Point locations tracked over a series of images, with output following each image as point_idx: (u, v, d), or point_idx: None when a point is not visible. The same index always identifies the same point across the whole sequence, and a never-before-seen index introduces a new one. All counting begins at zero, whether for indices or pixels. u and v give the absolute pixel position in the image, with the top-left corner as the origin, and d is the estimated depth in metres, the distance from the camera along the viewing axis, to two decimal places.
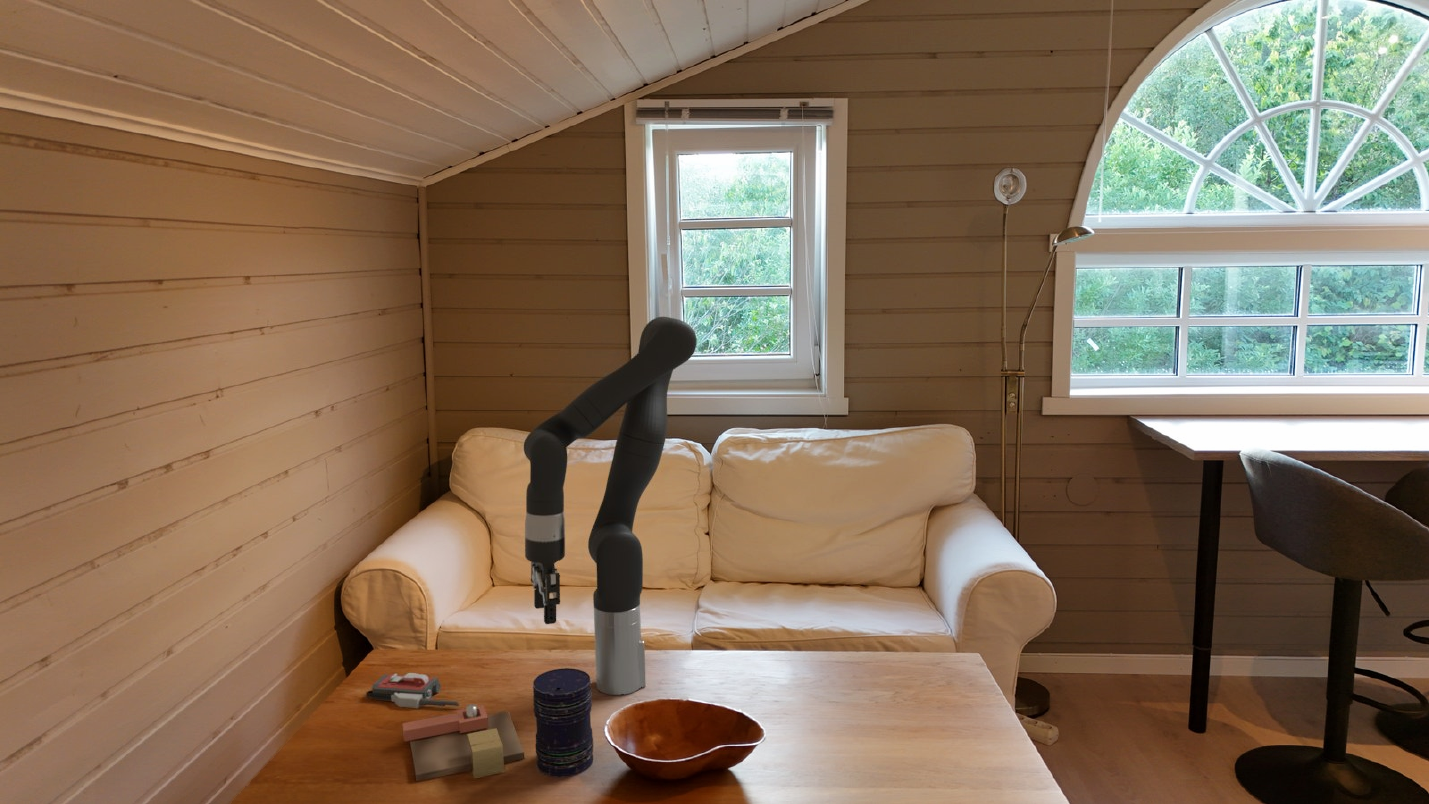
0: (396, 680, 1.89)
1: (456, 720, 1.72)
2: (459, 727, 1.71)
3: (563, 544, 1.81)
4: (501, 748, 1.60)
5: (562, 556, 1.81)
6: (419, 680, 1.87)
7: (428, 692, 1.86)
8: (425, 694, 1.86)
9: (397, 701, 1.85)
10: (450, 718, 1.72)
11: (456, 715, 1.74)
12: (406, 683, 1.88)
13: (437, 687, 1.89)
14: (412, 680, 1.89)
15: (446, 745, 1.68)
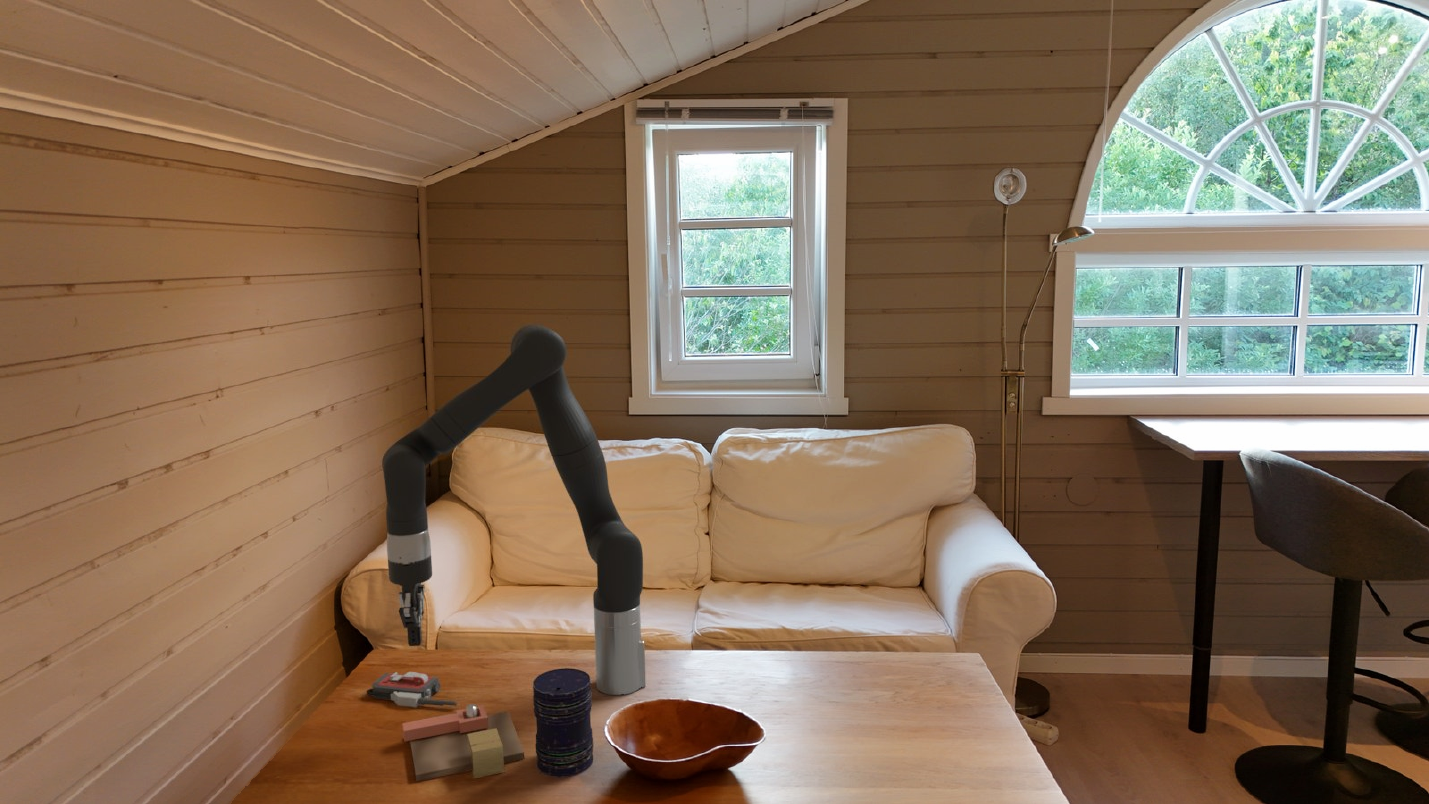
0: (396, 679, 1.89)
1: (456, 720, 1.72)
2: (459, 727, 1.71)
3: None
4: (501, 748, 1.60)
5: None
6: (418, 679, 1.88)
7: (427, 691, 1.87)
8: (424, 693, 1.86)
9: (396, 700, 1.85)
10: (450, 718, 1.72)
11: (456, 715, 1.74)
12: (406, 682, 1.88)
13: (437, 686, 1.89)
14: (412, 679, 1.90)
15: (446, 745, 1.68)
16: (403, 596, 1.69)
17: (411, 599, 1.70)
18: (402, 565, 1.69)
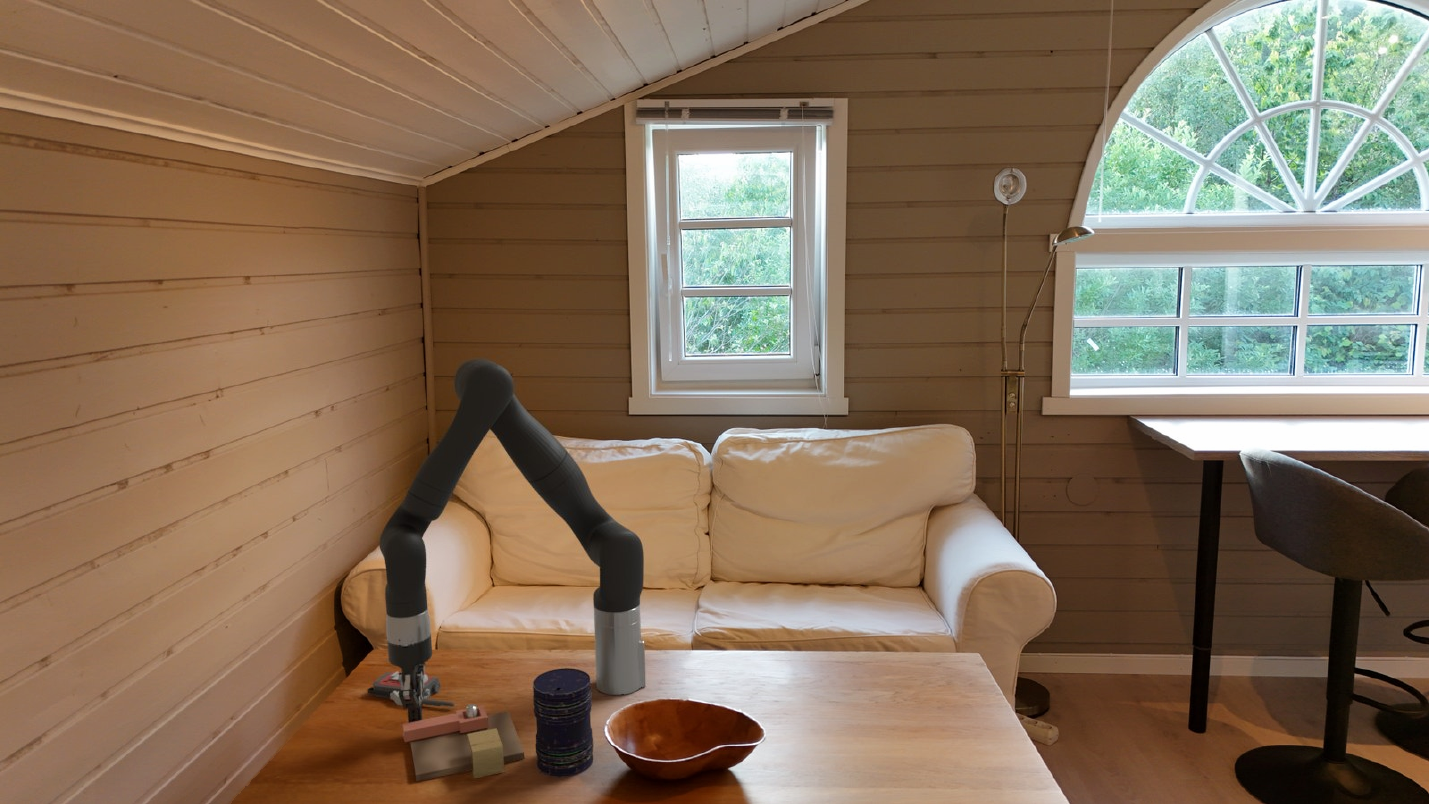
0: (397, 678, 1.90)
1: (457, 720, 1.72)
2: (459, 727, 1.71)
3: None
4: (501, 748, 1.60)
5: None
6: None
7: (426, 691, 1.87)
8: (423, 693, 1.86)
9: (396, 699, 1.85)
10: (450, 718, 1.72)
11: (456, 715, 1.73)
12: None
13: (436, 687, 1.89)
14: None
15: (446, 745, 1.68)
16: (403, 678, 1.67)
17: (411, 681, 1.68)
18: (401, 647, 1.67)
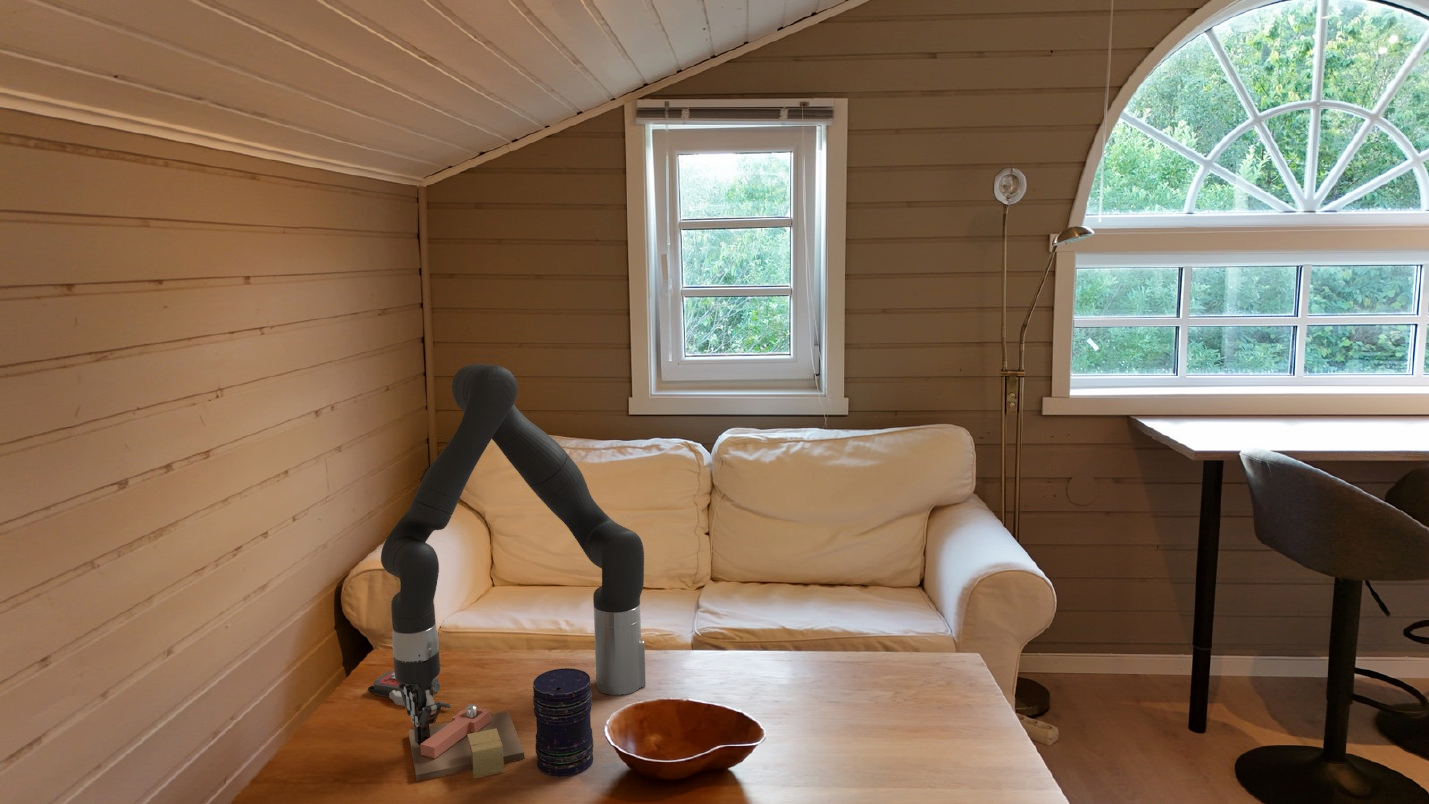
0: None
1: (467, 722, 1.71)
2: (472, 728, 1.71)
3: None
4: (501, 748, 1.60)
5: None
6: None
7: None
8: None
9: (394, 698, 1.86)
10: (458, 723, 1.71)
11: (459, 720, 1.72)
12: None
13: (435, 687, 1.89)
14: None
15: None
16: (424, 694, 1.61)
17: (432, 695, 1.62)
18: (421, 662, 1.61)
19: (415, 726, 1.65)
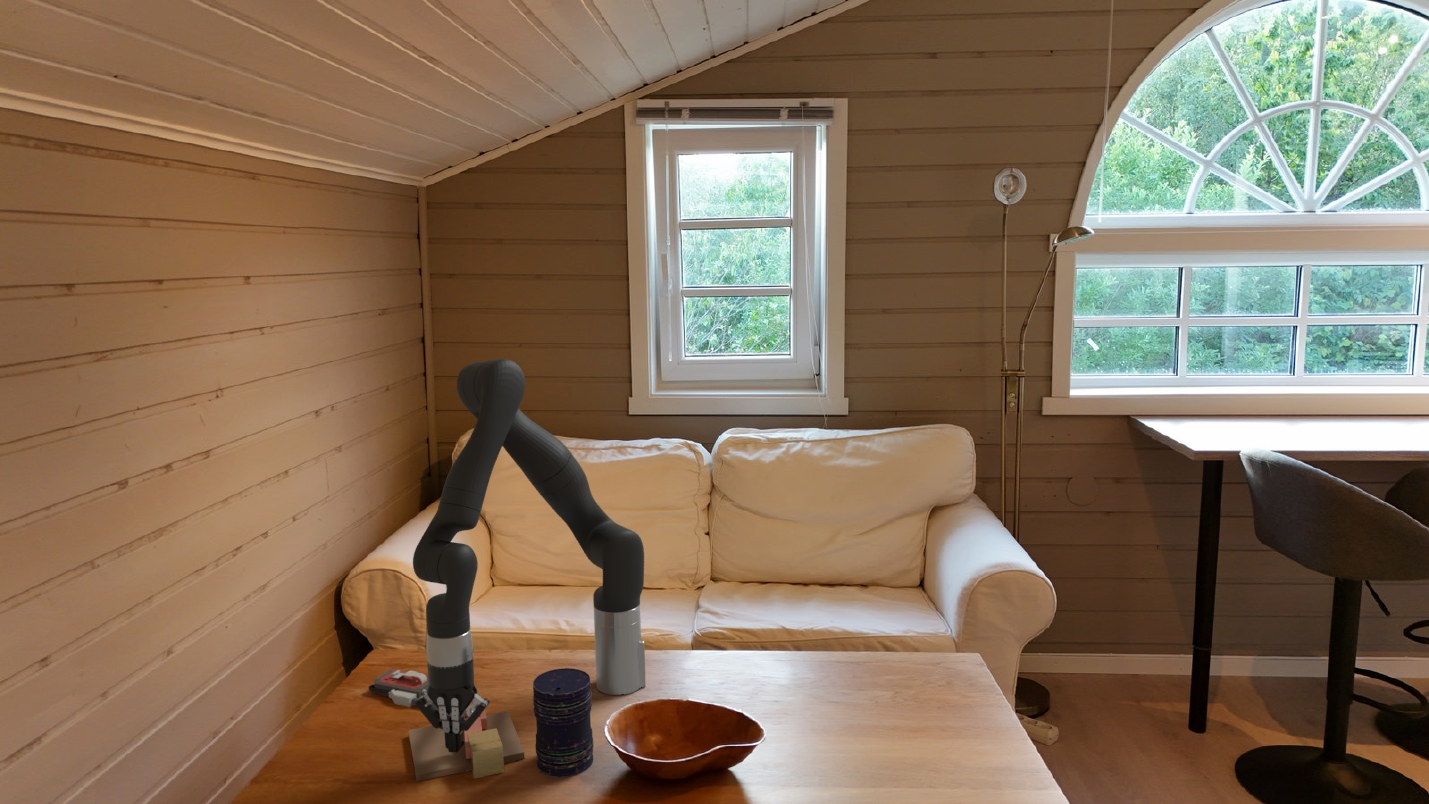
0: (397, 677, 1.90)
1: (479, 720, 1.72)
2: (483, 724, 1.72)
3: (430, 672, 1.59)
4: (501, 748, 1.60)
5: (430, 683, 1.59)
6: (416, 679, 1.88)
7: (423, 692, 1.87)
8: (420, 694, 1.86)
9: (393, 698, 1.86)
10: (473, 723, 1.70)
11: None
12: (405, 681, 1.89)
13: None
14: None
15: None
16: (473, 694, 1.61)
17: (476, 694, 1.62)
18: (469, 663, 1.60)
19: (451, 734, 1.62)
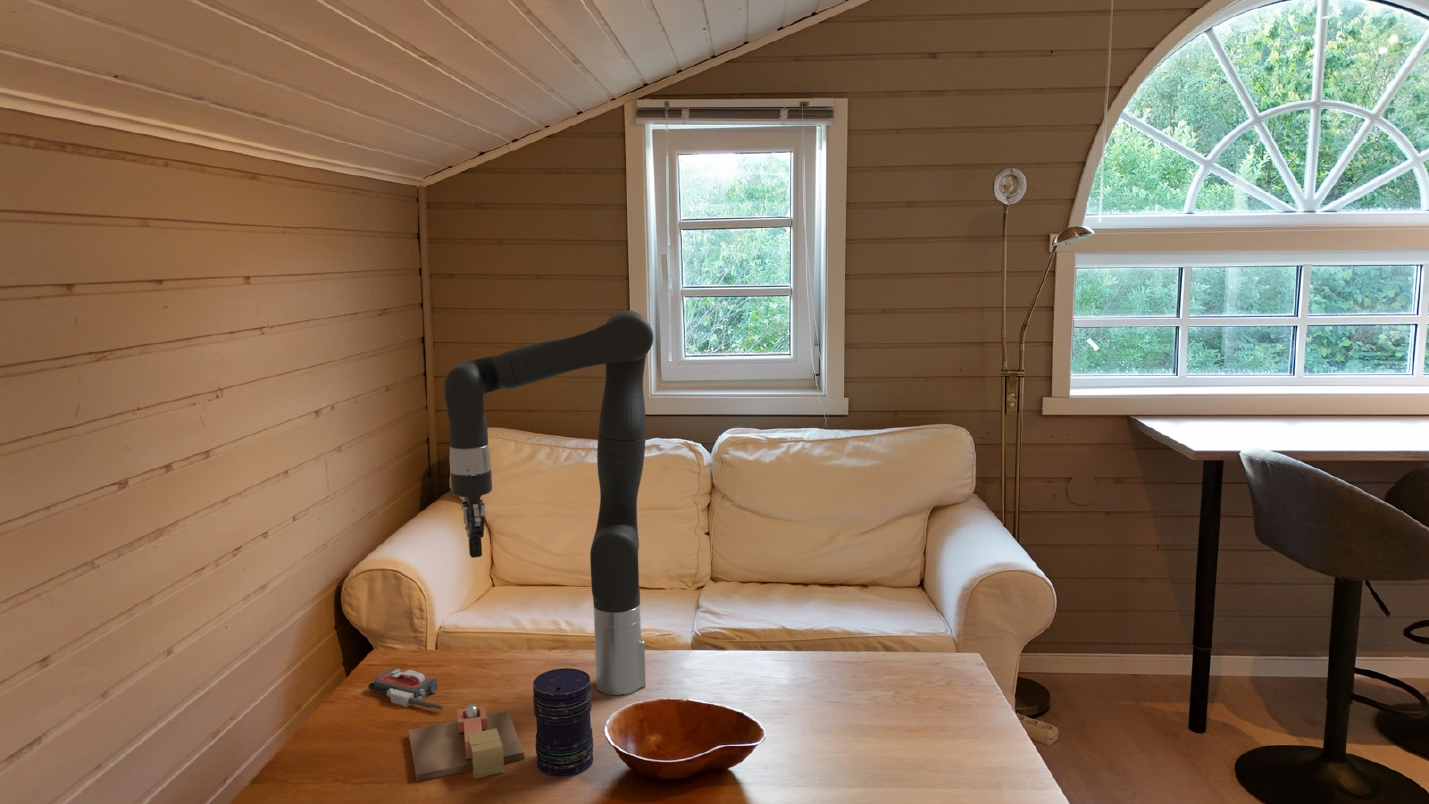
0: (396, 675, 1.91)
1: (479, 720, 1.72)
2: (483, 724, 1.72)
3: None
4: (501, 748, 1.60)
5: None
6: (414, 678, 1.88)
7: (420, 691, 1.87)
8: (417, 693, 1.86)
9: (391, 697, 1.86)
10: (473, 723, 1.70)
11: (469, 721, 1.71)
12: (404, 680, 1.89)
13: (432, 687, 1.89)
14: None
15: (446, 745, 1.68)
16: (471, 507, 1.77)
17: (479, 509, 1.78)
18: (470, 477, 1.77)
19: None
